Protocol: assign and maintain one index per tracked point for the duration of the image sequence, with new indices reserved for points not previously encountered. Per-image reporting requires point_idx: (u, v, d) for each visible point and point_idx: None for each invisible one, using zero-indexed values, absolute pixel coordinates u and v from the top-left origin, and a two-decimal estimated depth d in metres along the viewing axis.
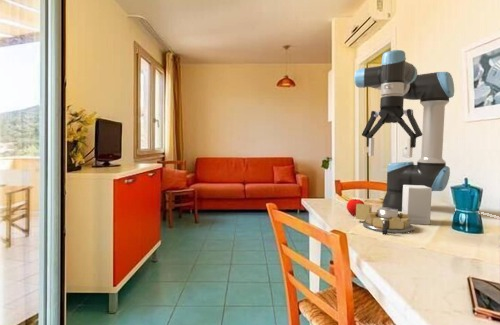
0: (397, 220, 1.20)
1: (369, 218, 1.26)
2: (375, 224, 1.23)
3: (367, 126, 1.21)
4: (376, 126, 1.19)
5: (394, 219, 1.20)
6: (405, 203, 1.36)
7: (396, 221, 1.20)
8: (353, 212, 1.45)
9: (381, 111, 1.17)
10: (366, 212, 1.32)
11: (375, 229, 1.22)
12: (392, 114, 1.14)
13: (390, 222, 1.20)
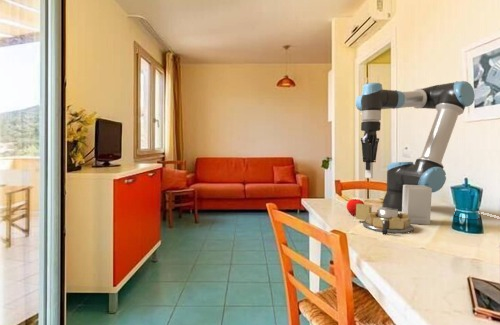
0: (397, 220, 1.20)
1: (369, 218, 1.26)
2: (375, 224, 1.23)
3: None
4: None
5: (394, 219, 1.20)
6: (405, 203, 1.36)
7: (396, 221, 1.20)
8: (353, 212, 1.45)
9: None
10: (366, 212, 1.32)
11: (375, 229, 1.22)
12: None
13: (390, 222, 1.20)
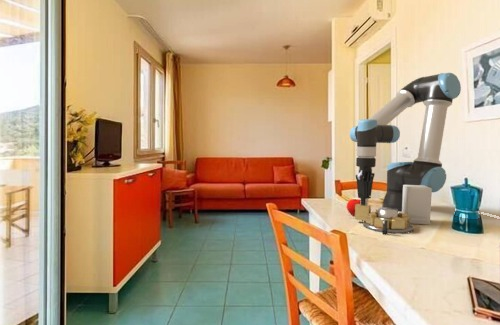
0: (399, 220, 1.20)
1: (370, 218, 1.26)
2: (377, 224, 1.23)
3: None
4: None
5: (396, 219, 1.20)
6: (405, 203, 1.36)
7: (398, 221, 1.20)
8: (353, 212, 1.45)
9: None
10: (366, 212, 1.32)
11: (375, 229, 1.22)
12: None
13: (392, 222, 1.20)
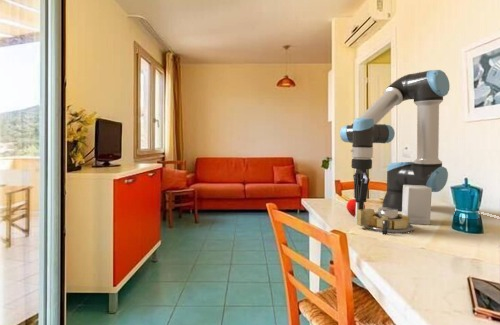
0: (408, 218, 1.24)
1: None
2: (396, 227, 1.20)
3: (354, 188, 1.32)
4: (356, 187, 1.29)
5: (408, 217, 1.23)
6: (405, 203, 1.36)
7: (408, 219, 1.24)
8: (353, 212, 1.45)
9: None
10: (371, 217, 1.24)
11: (375, 229, 1.22)
12: (356, 175, 1.26)
13: (408, 221, 1.22)
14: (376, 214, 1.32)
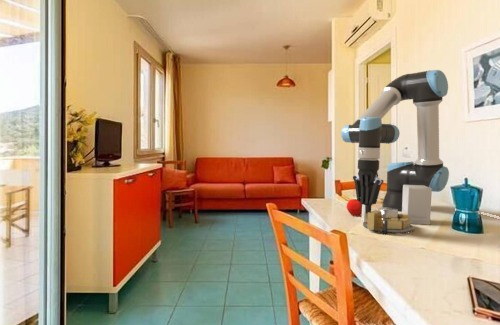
0: None
1: (397, 222, 1.20)
2: (404, 226, 1.21)
3: (357, 191, 1.26)
4: (362, 190, 1.23)
5: None
6: (405, 203, 1.36)
7: None
8: (353, 212, 1.45)
9: (358, 172, 1.25)
10: (380, 219, 1.21)
11: (375, 229, 1.22)
12: (366, 176, 1.20)
13: (409, 219, 1.25)
14: None
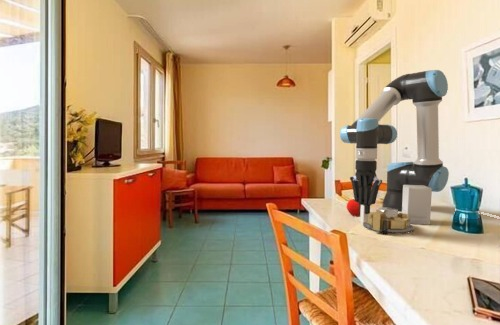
0: None
1: (400, 222, 1.20)
2: (407, 226, 1.22)
3: (354, 191, 1.26)
4: (360, 190, 1.24)
5: None
6: (405, 203, 1.36)
7: None
8: (353, 212, 1.45)
9: (356, 173, 1.26)
10: (384, 219, 1.21)
11: None
12: (364, 177, 1.21)
13: None
14: None
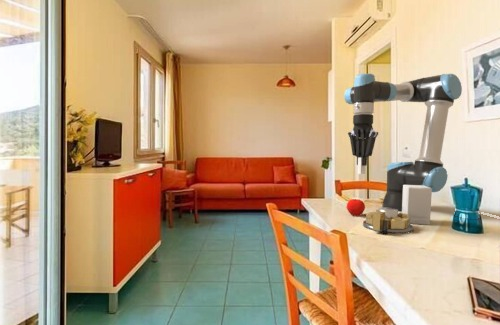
0: None
1: (400, 222, 1.20)
2: (407, 226, 1.22)
3: (352, 145, 1.33)
4: (357, 144, 1.31)
5: None
6: (405, 203, 1.36)
7: None
8: (353, 212, 1.45)
9: (353, 128, 1.32)
10: (384, 219, 1.21)
11: None
12: (361, 130, 1.28)
13: None
14: None
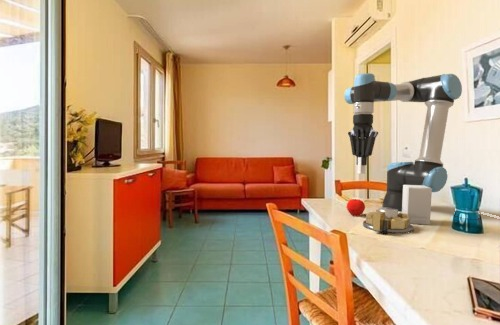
0: None
1: (400, 222, 1.20)
2: (407, 226, 1.22)
3: (352, 145, 1.33)
4: (357, 143, 1.31)
5: None
6: (405, 203, 1.36)
7: None
8: (353, 212, 1.45)
9: (353, 127, 1.32)
10: (384, 219, 1.21)
11: None
12: (361, 130, 1.28)
13: None
14: None
